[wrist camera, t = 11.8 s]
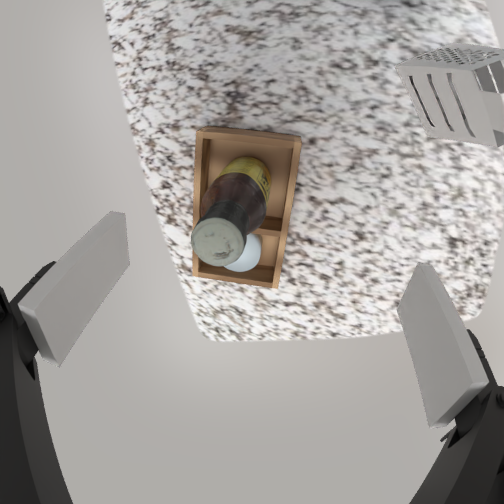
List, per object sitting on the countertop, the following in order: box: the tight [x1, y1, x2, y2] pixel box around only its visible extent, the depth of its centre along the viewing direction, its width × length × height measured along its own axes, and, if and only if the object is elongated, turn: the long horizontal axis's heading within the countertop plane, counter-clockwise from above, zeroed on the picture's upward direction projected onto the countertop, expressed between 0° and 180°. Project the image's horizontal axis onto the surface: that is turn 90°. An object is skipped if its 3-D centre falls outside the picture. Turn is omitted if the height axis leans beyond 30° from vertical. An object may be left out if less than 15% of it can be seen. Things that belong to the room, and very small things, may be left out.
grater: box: [394, 43, 504, 147], centre depth 23 cm, size 10×10×20 cm
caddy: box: [193, 126, 302, 289], centre depth 41 cm, size 20×12×5 cm, turn 174°
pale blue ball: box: [224, 233, 262, 272], centre depth 44 cm, size 6×6×4 cm
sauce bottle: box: [191, 156, 271, 266], centre depth 32 cm, size 6×6×20 cm
